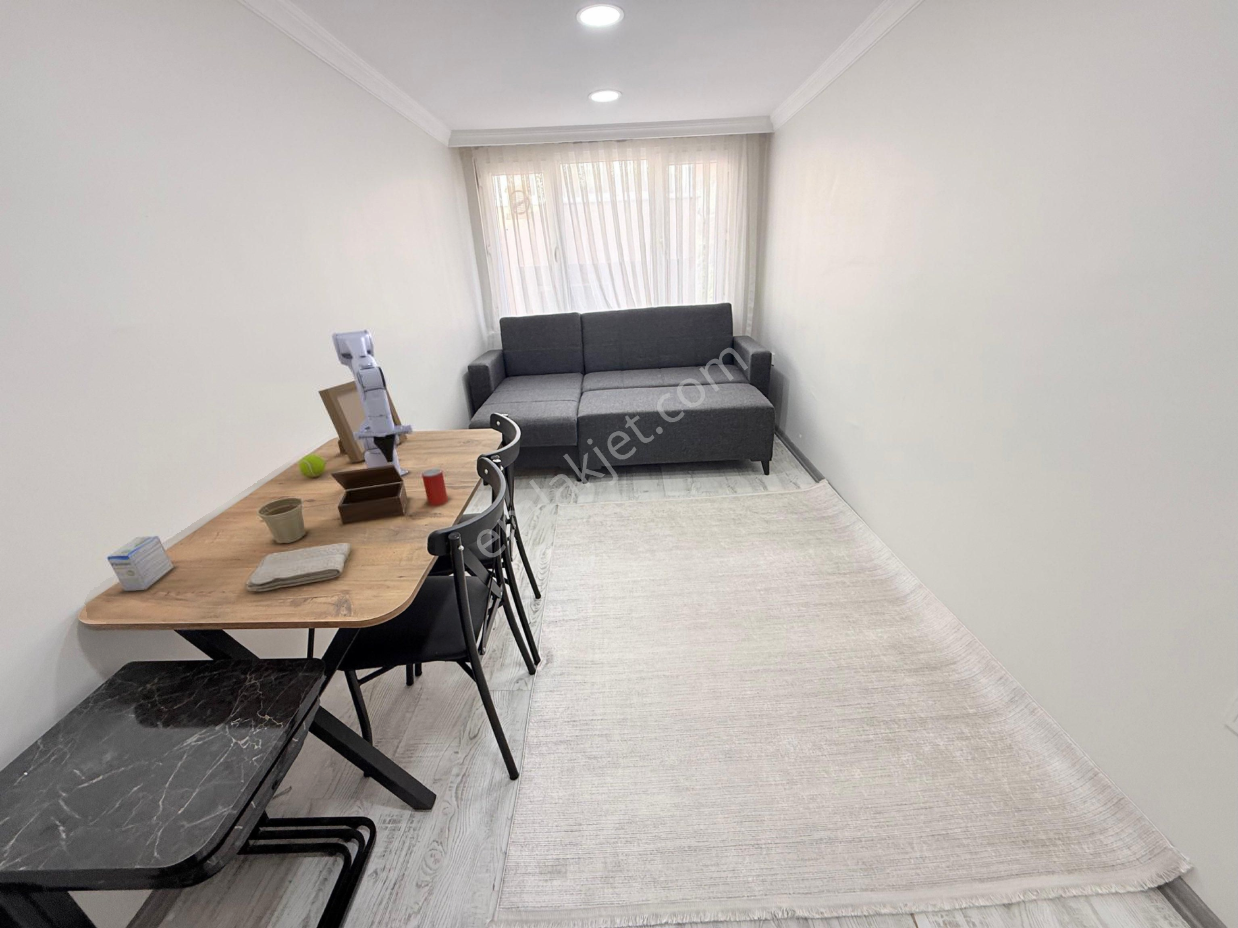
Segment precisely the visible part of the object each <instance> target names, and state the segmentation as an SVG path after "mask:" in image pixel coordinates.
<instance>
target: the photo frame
mask: <svg viewBox="0 0 1238 928" xmlns="http://www.w3.org/2000/svg"><path fill="white" fill-rule="evenodd" d="M384 389H385V387H384ZM385 390H386V394H387V398H388V403H389V407H390V411H391V416H392V420H393V423H394V426H403V424H402V422H401V420H400V417H399V414H398V412H397V410H396V408H395V405H394V403H393V400H392V398H391V395H390V393H389V390H388V388H387V387H386V389H385ZM318 394H319V396H320V398H321V401H322V403H323V405H324V407H325V410H326V412H327V414H328V417H329V419H330V420H331V423H332V425H333V427H334V429H335V431H336V434H337V436H338V438H339V439H338V441H337V446H338V450H339V454H345V453H346V455H347V458H348V459H349V462H350V463H351V464H352V463H358V462H359V463H360V462H362V461H365V452H366V451H365V450H364V448H363V445H362V442H361V439H360V440H358V441H355V440H354V436H353V434H354V432H357V431H359V426H360V424H361V423H362V422H363V421H364V420H365V419H366V417H365V414H364V410H363V407H362V404H361V400H360V397H359V393H358V390H357V387H356V383H355V380H352V381H348V382H345V383H341V384H338V385H336V386H332V387H331V386H330V387H327V388H324V389H322V390H319V391H318ZM398 437H399V444H400V443H402V442H403V441H406V440H408V436H407V434H400V435H398Z"/></svg>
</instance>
